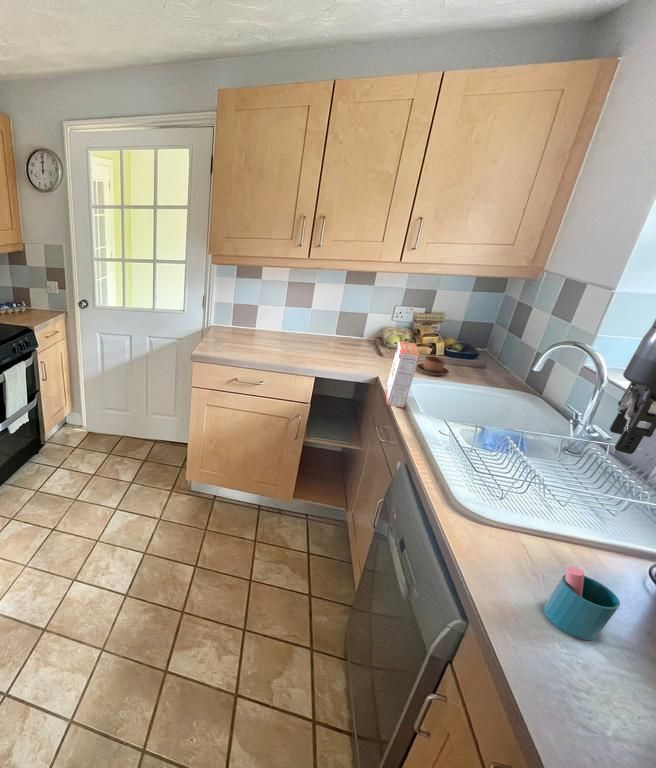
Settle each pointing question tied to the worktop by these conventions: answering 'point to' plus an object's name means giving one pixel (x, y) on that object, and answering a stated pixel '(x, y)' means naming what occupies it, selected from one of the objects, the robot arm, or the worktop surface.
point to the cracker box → (401, 374)
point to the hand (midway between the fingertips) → (619, 441)
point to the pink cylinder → (575, 580)
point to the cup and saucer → (433, 366)
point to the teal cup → (581, 608)
